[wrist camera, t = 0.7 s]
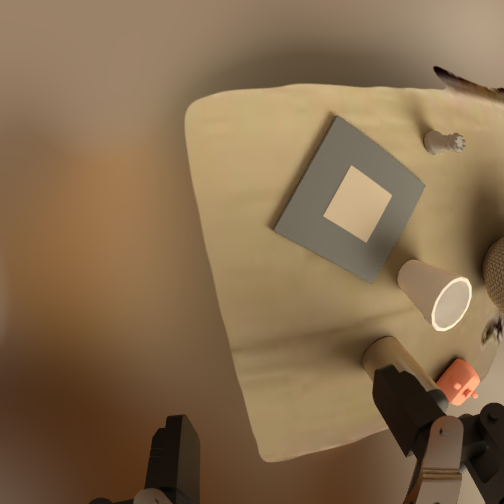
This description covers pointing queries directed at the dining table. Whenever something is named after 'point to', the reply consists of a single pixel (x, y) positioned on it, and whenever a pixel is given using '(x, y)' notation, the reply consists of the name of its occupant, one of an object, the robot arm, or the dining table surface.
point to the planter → (495, 273)
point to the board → (350, 202)
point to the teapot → (458, 382)
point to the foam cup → (435, 293)
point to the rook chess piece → (443, 142)
